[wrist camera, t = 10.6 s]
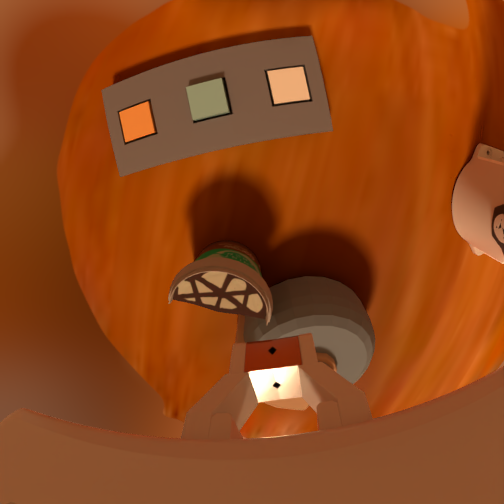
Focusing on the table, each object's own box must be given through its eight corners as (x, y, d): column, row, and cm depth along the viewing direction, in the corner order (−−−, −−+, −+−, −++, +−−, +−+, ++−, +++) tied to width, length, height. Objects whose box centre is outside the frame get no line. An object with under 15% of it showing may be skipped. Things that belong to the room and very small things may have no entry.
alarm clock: (213, 313, 43) (199, 369, 32) (329, 245, 38) (354, 291, 27) (278, 380, 49) (281, 433, 38) (377, 331, 44) (400, 382, 33)
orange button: (153, 102, 29) (147, 101, 28) (160, 132, 31) (154, 132, 29) (125, 112, 30) (119, 112, 28) (132, 141, 31) (125, 142, 30)
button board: (308, 43, 27) (312, 35, 24) (327, 131, 32) (333, 130, 29) (112, 92, 30) (101, 90, 27) (130, 173, 34) (120, 177, 32)
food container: (281, 243, 38) (287, 280, 29) (269, 282, 40) (271, 326, 31) (190, 223, 37) (168, 253, 28) (184, 263, 39) (164, 302, 30)
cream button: (300, 70, 28) (302, 66, 26) (307, 100, 29) (309, 99, 27) (267, 74, 28) (267, 71, 26) (273, 105, 30) (274, 103, 28)
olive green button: (223, 81, 28) (221, 77, 26) (230, 112, 29) (228, 111, 27) (190, 89, 28) (185, 87, 26) (196, 120, 30) (192, 120, 28)
